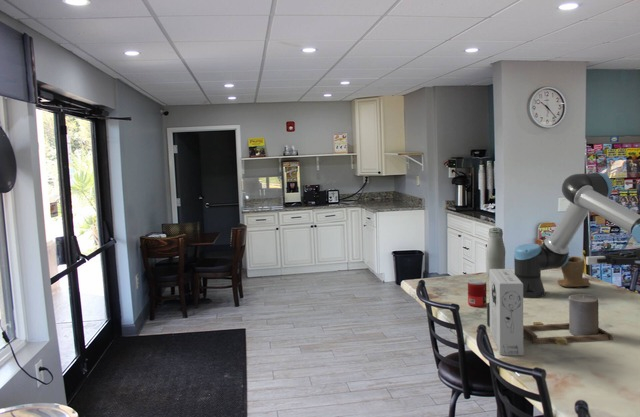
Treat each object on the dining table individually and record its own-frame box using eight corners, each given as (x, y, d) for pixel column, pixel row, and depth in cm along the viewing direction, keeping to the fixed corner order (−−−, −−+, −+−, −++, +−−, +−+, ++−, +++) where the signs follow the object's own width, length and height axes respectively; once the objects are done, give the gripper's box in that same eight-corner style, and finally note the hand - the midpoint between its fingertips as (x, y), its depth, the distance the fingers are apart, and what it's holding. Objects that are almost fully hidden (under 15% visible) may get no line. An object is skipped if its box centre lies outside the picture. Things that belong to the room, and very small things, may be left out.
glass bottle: (485, 280, 266) (485, 228, 263) (486, 276, 276) (486, 226, 273) (505, 281, 263) (505, 229, 260) (505, 276, 272) (505, 226, 269)
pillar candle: (595, 329, 188) (595, 291, 187) (601, 339, 179) (600, 298, 178) (567, 328, 192) (567, 290, 190) (571, 337, 182) (570, 297, 181)
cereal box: (523, 356, 168) (523, 283, 165) (499, 355, 169) (499, 283, 166) (510, 333, 189) (510, 268, 186) (489, 332, 190) (489, 268, 188)
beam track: (585, 323, 195) (585, 316, 195) (616, 341, 176) (616, 333, 176) (512, 327, 194) (512, 320, 194) (536, 346, 175) (536, 338, 175)
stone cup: (563, 289, 243) (563, 259, 242) (555, 283, 255) (555, 254, 253) (596, 289, 241) (596, 259, 240) (586, 283, 253) (586, 254, 251)
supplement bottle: (484, 323, 200) (483, 294, 199) (500, 322, 201) (500, 293, 200) (491, 329, 194) (491, 299, 192) (508, 328, 194) (508, 298, 193)
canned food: (487, 307, 220) (487, 283, 219) (468, 307, 222) (468, 283, 221) (485, 302, 228) (485, 279, 227) (467, 302, 230) (467, 279, 228)
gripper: (661, 271, 179) (597, 274, 178) (637, 263, 192) (577, 266, 191) (662, 250, 178) (597, 254, 178) (637, 244, 191) (577, 247, 190)
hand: (587, 260), depth 184 cm, fingers closed
